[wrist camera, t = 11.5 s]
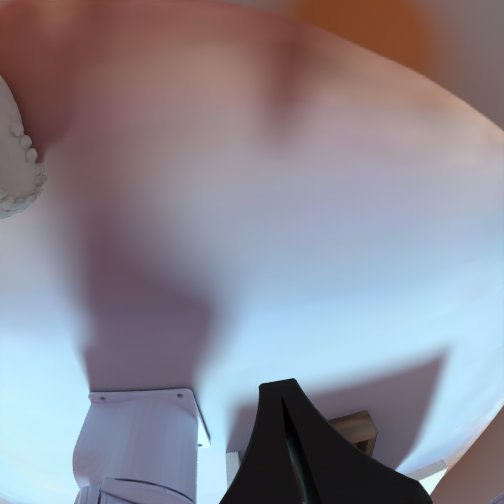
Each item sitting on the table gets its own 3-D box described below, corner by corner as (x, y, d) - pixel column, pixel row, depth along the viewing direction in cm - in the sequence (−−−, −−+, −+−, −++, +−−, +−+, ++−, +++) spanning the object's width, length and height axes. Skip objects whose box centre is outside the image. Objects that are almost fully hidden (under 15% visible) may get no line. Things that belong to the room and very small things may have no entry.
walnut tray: (291, 484, 30) (300, 523, 25) (286, 429, 26) (298, 480, 21) (355, 469, 31) (369, 505, 25) (366, 410, 27) (389, 455, 21)
